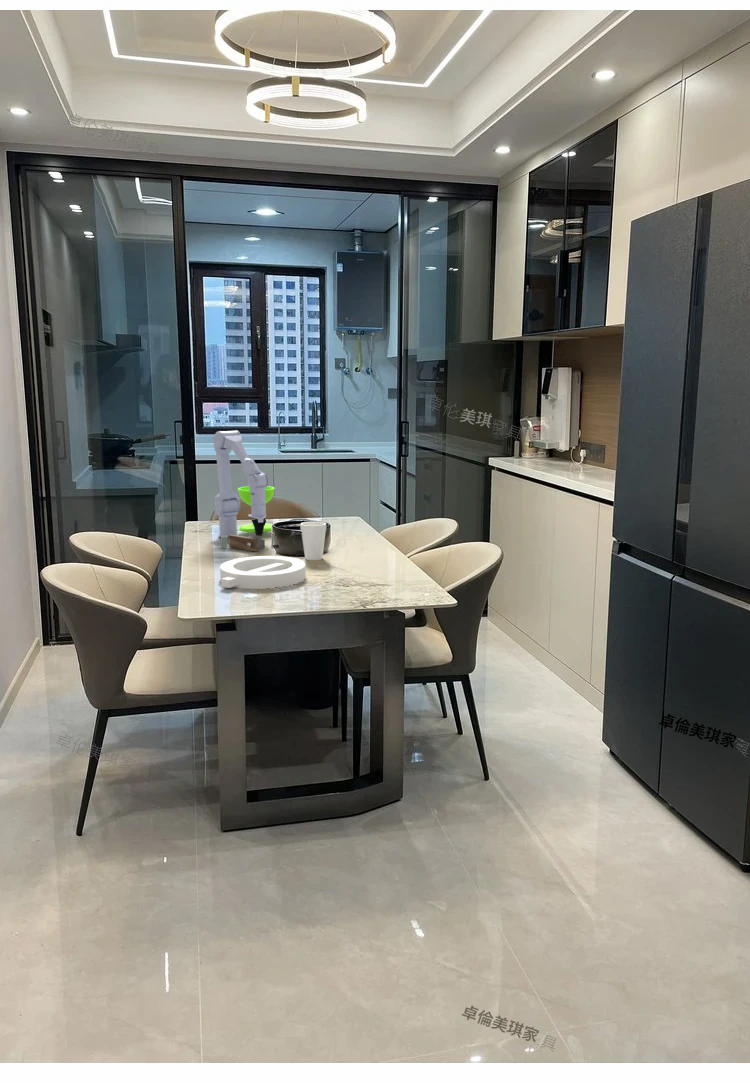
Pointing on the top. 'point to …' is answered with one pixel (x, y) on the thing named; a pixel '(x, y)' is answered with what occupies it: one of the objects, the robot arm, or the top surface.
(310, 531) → the foam cup
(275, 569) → the ring with crossbar
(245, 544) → the brown rectangular bar
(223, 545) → the pale green rectangular bar
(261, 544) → the grey notched block
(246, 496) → the wineglass
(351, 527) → the top surface
